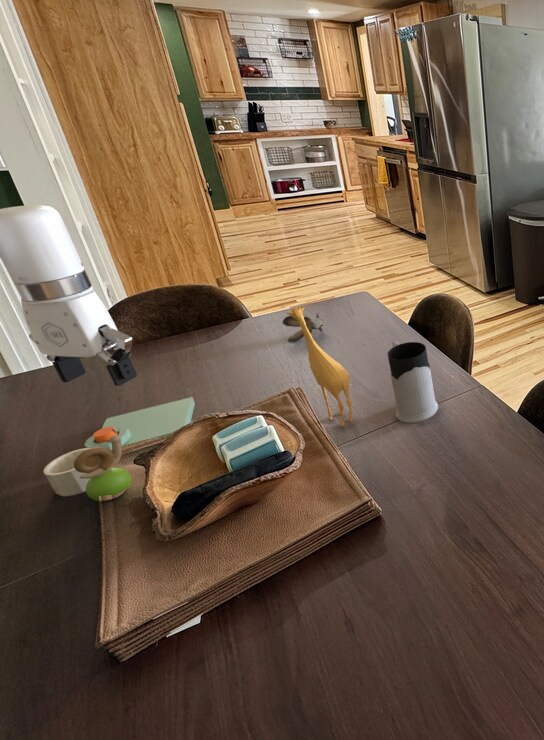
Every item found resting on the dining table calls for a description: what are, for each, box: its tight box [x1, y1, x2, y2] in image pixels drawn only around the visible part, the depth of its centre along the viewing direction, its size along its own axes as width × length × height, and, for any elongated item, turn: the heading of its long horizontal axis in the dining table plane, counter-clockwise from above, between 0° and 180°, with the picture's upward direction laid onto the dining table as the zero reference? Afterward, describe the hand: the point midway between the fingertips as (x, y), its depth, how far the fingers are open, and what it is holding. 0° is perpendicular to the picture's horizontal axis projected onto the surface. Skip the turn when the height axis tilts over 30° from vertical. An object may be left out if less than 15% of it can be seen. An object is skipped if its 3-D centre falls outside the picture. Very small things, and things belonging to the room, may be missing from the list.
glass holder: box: [387, 340, 439, 424], centre depth 103 cm, size 9×14×15 cm, turn 39°
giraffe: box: [286, 305, 354, 427], centre depth 97 cm, size 16×4×25 cm, turn 56°
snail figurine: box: [74, 428, 133, 502], centre depth 80 cm, size 5×6×12 cm
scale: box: [83, 396, 196, 450], centre depth 96 cm, size 14×14×4 cm
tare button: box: [92, 427, 116, 443], centre depth 90 cm, size 3×3×2 cm
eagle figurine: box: [281, 312, 324, 343], centre depth 134 cm, size 8×7×9 cm
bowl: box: [42, 447, 90, 497], centre depth 83 cm, size 7×7×5 cm
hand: (100, 379), depth 80 cm, fingers open, 9 cm apart
